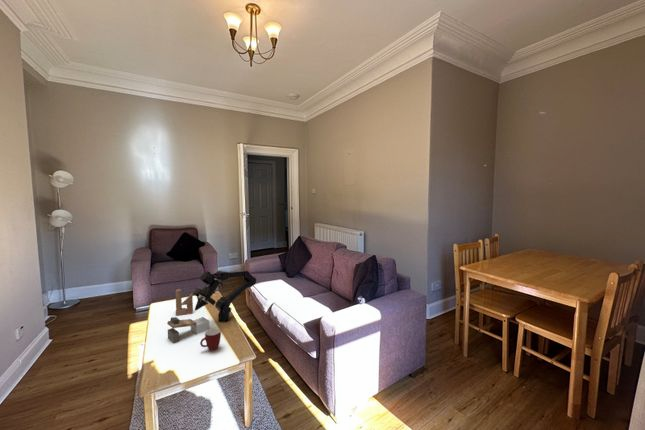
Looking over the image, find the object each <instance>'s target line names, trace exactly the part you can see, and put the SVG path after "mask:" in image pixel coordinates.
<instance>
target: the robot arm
mask: <svg viewBox="0 0 645 430" xmlns="http://www.w3.org/2000/svg"><path fill="white" fill-rule="evenodd" d="M238 277H239V278H240V277H242V278H243V280H242V282H241V284H240V285H238V286H237V287H236V288H235V289H234V290H232V291H231V292H230V293H229V294H228V295H227V296H220V298H219V299H217V301H216V300H215V299H214V298H212V296H213V295H214V294H216V290H217V289H218V288H219V286H222V287H223V281H227V280H229V279H230V278H238ZM199 280H200V281H201V282H203V283H204V284H205V285H207V286H205V287H199V286H196V288H195V290H194V292H192V295H194V296H195V297H196V299H197V302H196V304H195V307H194V311H198V310H199V309H201V308H203V307H205V306H207V305H209V304H210V305H212V306H214V307H215V308H216V309H217V311H218V314H217V315H218V316H217V317H218V321H217V322H218V323H222V322H223V323H228V322H229V321H230V319H231V318H232V317H231V316H230V315H231V314H230V313H231V311H232V307H230V306H231V305H232V304H231V303H232V302H233V301H234V300H235V299H236V298H237V297H239V296H240V295H241V294H242V293H243V292H244V291H245V290H247V289H248V288H251V287H253V286H255V285H256V284H257V278H256V277H254V276H253V275H252V274H251V273H250V272H249V270H246V269H241V270H232V271H231V270H230V271H226V270H217V271H216V272H214V273H211V272H210V271H206V272H204V273H203V274H201V275H200V277H199Z"/></svg>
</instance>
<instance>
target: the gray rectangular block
mask: <svg viewBox="0 0 645 430" xmlns="http://www.w3.org/2000/svg"><path fill="white" fill-rule="evenodd" d="M192 320H193V321H194V322H196V323H197V324H196V326H190V331H191V332H193V333H195V334H196V335H197V334H201V333H203V332H206V331H207V330H209V329H210V320H209V319H207V318H206V317H204V316H201V317H199V318H196V319H192ZM167 339H168V340H169V341H170V342H171V343H173V344H175V343H178V342H179V341H180V332H179V331H178V330H176V328H172V327H171V328H168V329H167Z"/></svg>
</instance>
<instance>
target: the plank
mask: <svg viewBox="0 0 645 430" xmlns="http://www.w3.org/2000/svg"><path fill="white" fill-rule="evenodd" d="M193 320H194V319H192V318H188V319H179V318H178V317H176V316H175V317H170V319H169V320H168V321H167V323H166V324H167V325H168V326H169V327H171V328H174V329H177V328H178V329H179V328H185V327H186V328H187V327H191V326H196V324H197V323H196V322H194V321H193Z"/></svg>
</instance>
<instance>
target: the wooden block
mask: <svg viewBox="0 0 645 430" xmlns="http://www.w3.org/2000/svg"><path fill="white" fill-rule="evenodd" d="M182 299H183V298H182V289H181V288H178V289H176V290H175V317H176V316H183V315H191V314H193V313H194V303H193V302H194V301H193V300H194V299H193V292H191V293H190V294H189V295H188V297H186V298H185V300H184V301H182ZM182 306H186V307H182Z"/></svg>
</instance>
